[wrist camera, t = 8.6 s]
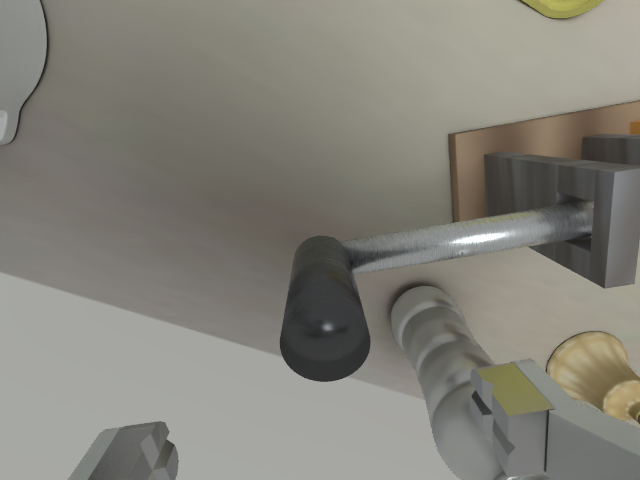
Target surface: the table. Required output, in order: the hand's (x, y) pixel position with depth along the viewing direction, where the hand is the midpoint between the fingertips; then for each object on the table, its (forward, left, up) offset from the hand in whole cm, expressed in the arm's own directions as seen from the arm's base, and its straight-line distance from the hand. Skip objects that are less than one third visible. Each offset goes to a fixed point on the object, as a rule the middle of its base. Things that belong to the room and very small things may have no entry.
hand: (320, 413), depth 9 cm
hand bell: (+25, -21, -24) cm, 40 cm away
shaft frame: (+22, 0, -23) cm, 32 cm away
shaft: (+10, 0, -12) cm, 16 cm away
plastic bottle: (+8, -11, -23) cm, 27 cm away
